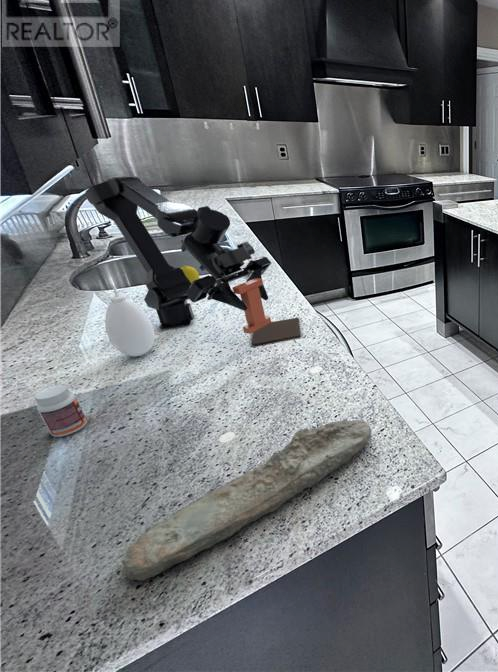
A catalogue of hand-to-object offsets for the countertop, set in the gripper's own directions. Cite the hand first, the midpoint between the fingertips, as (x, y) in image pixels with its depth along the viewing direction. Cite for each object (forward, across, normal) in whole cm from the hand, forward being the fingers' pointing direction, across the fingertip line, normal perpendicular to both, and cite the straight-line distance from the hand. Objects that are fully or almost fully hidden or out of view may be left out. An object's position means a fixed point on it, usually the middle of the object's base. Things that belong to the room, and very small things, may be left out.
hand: (256, 304), depth 97 cm
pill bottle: (+1, -34, +17) cm, 38 cm away
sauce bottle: (-9, -13, +27) cm, 31 cm away
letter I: (+4, 0, +6) cm, 7 cm away
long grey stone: (+33, -32, -16) cm, 49 cm away
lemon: (-26, +19, +45) cm, 55 cm away
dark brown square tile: (+6, +7, +12) cm, 15 cm away
